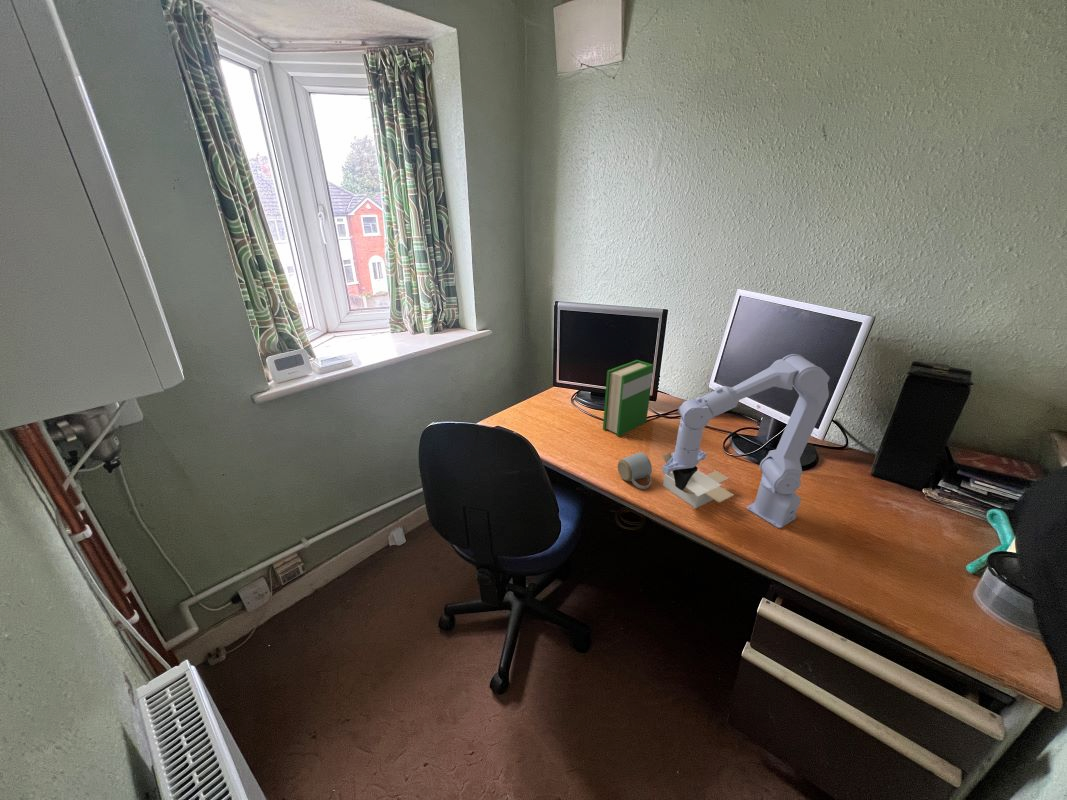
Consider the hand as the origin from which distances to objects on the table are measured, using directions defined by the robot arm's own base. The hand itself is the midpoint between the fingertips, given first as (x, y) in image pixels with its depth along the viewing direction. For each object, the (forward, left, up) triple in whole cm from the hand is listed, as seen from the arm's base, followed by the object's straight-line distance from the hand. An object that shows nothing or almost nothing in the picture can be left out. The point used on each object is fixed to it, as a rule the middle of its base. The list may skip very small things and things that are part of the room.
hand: (679, 487), depth 109 cm
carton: (+1, -11, -7) cm, 13 cm away
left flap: (0, -2, -1) cm, 2 cm away
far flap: (+11, -10, -1) cm, 15 cm away
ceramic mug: (+15, 0, -7) cm, 17 cm away
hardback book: (+43, -20, -7) cm, 48 cm away
